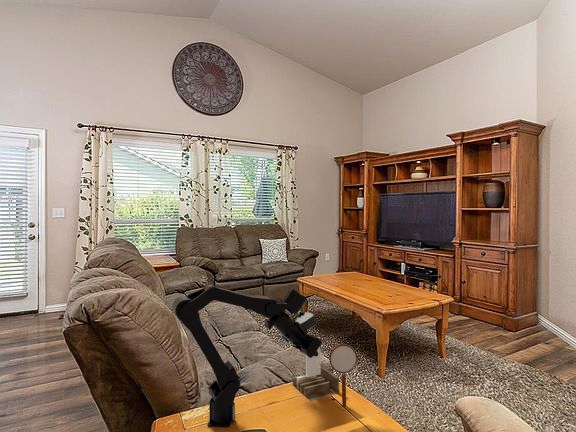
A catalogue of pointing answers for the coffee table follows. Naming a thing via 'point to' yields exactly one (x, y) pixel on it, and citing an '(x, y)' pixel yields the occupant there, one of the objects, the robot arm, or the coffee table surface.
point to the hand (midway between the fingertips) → (316, 354)
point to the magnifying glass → (343, 364)
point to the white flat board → (313, 365)
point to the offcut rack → (317, 385)
